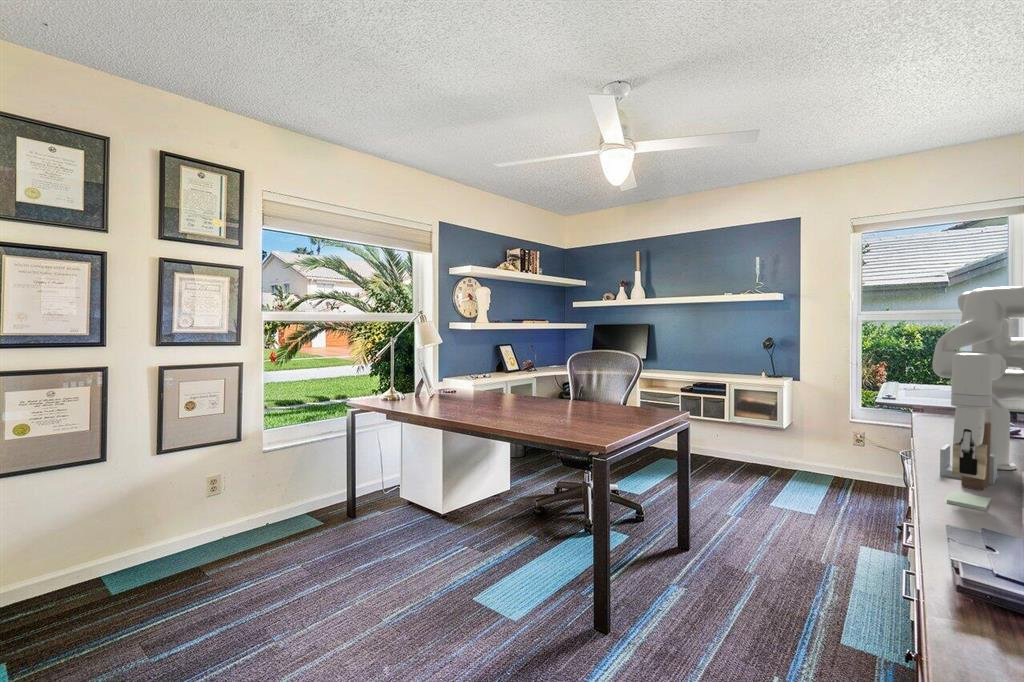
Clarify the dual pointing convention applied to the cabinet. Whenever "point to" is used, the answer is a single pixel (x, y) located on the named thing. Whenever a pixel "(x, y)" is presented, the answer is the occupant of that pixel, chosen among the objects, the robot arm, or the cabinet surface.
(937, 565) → the cabinet surface
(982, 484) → the wooden block
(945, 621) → the cabinet surface
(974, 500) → the mat
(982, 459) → the beech block
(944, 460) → the slot guard
